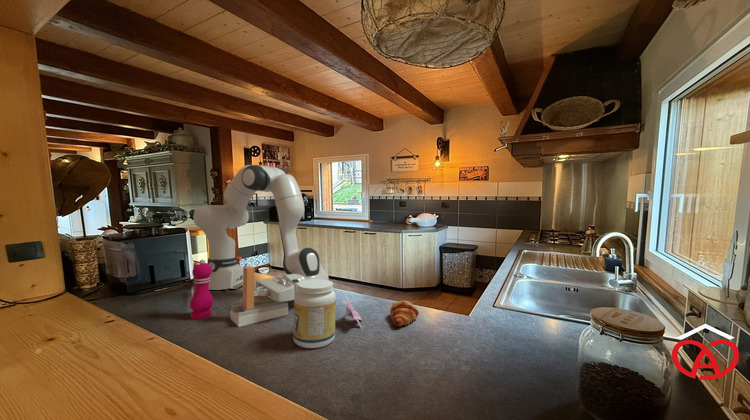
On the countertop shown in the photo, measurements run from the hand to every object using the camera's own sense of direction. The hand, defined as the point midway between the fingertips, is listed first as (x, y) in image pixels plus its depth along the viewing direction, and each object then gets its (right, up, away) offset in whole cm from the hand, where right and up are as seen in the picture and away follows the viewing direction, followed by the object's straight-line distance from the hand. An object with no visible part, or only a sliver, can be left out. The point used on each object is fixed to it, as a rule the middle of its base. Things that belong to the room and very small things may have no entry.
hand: (252, 292), depth 101 cm
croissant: (+53, -11, +3) cm, 55 cm away
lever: (-1, -6, -1) cm, 6 cm away
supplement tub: (+25, -10, -15) cm, 31 cm away
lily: (+35, -10, -3) cm, 36 cm away
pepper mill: (-18, -9, +1) cm, 20 cm away
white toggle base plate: (+2, -9, +2) cm, 9 cm away
